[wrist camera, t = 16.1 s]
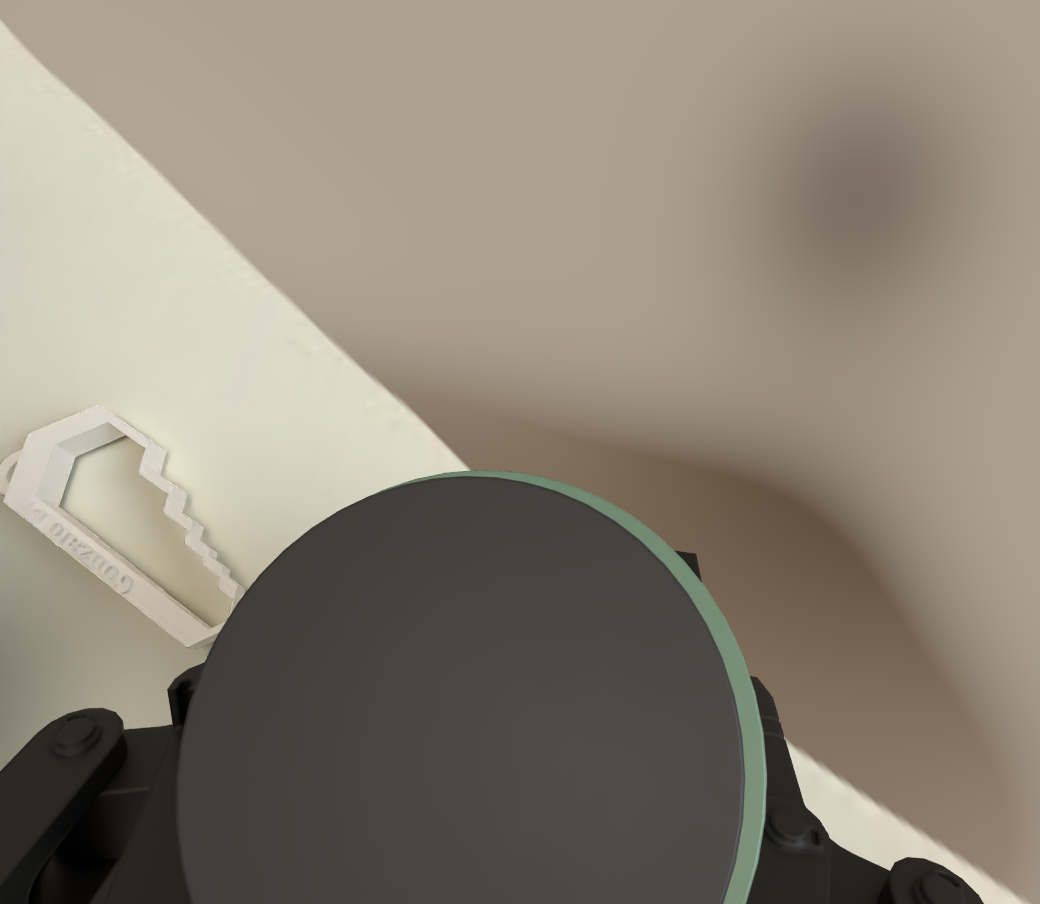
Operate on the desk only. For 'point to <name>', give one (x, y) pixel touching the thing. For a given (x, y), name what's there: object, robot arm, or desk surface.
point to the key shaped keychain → (36, 497)
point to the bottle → (473, 713)
